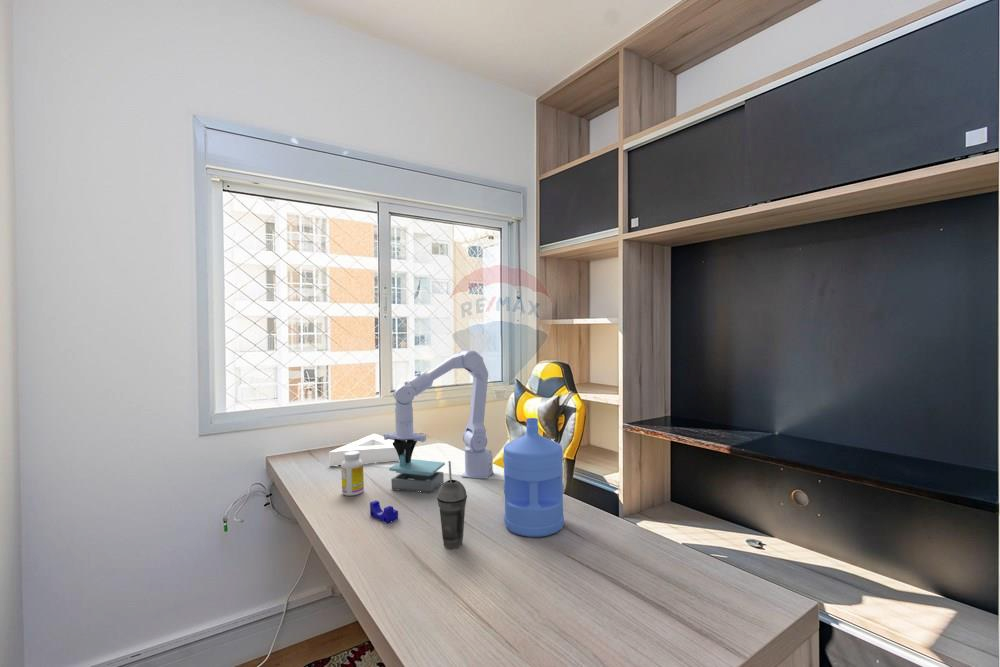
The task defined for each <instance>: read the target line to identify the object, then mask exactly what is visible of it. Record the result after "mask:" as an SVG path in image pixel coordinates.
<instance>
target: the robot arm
mask: <svg viewBox="0 0 1000 667" xmlns="http://www.w3.org/2000/svg"><path fill="white" fill-rule="evenodd" d="M454 369H464V370H466V371H467V372H468V373H469V374H470V375H471V376H472V388H471V397H470V406H469V416H468V422H467V424H466V427H465V430H464V432H463V434H462V440H463V441H462V442H463V443H464V445H465V446H464V472H463V473H462V474H461V478H472V479H486V480H487V479H488V478H489V477H490V476H491V475H492V474H493V473H494V469H493V452H492V450H489V449H486V447H487V446H488V445H487V444H488V438H487V434H486V431H487V429H486V426H485V424H484V422H485V413H486V401H487V391H488V384H489V383H488V381H489V371H488V368H487V366H486V364H485V362H484V357H482V356H481V355H480V353H479V352H477V351H475V350H468V349H463V350H460V351H458V352H457V353H454V354H452V355H451V356H450V357H448V358H446V359H444V360H443V361H442V362H441V363H439V365H437V366H436V367H434V368H433V369H430V370H429V371H428V372H426V371H422V372H416V373H415V376H413V377H412V378H410V379H409V380H405V381H403V384H400V385H397V387H395V388H394V391H393V393H392V396H393V398H394V399H395V404H394V405H395V408H394V414H395V415H394V416H395V418H394V419H395V420H394V421H395V432H385V433H383V437H384V440H394V442H393V446H394V447H395V449H396V451H397V453H398V456H399V460H400V455H401V454H403V453H406V463H409V462H410V461H411V459H412V457H413V456H412V455H413V451H414V449H415V447H416V445H417V443H418V442H420V443H424V442H426V441H427V435H426V434H422V433H416V432H414V412H413V411H414V408H413V400H414V399H415V397H417V396H418V395H420V394H422V393H423V392H425V391H426V390H428V389H430V387H432V386H433V383H434V381H435V380H437V379H438V378H440V377H441V376H444V375H445V374H446V373H448V372H450V371H451V370H454Z"/></svg>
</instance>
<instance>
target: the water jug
mask: <svg viewBox="0 0 1000 667" xmlns="http://www.w3.org/2000/svg"><path fill="white" fill-rule="evenodd" d="M525 421H526V425H525V427H526V433H525V434H524V435H522V436H519V437H518V438H516V439H513V440H511V441H509V442H508V443H506V444H505V445H504V446H503V455H502V460H503V461H502V462H503V471H504V472H503V482H504V484H503V494H504V515H503V517H504V518H503V520H504V525H505V527H506V528H507V529H508V530H509V531H510V532H512V533H513V534H515V535H517V536H522V537H529V538H542V537H549V536H551V535H555V534H556V533H558V532H559V531H560V530H561V529H562V528H563V527H564V523H565V517H564V516H565V515H564V484H563V463H564V462H563V460H564V457H563V455H564V454H563V447H562V445H561V444H560V443H558V442H556V441H555V440H552V439H549V438H547V437H545V436H543V435H541V434H540V433H539V423H538V422H539V418H536V417H529V418H526V419H525Z"/></svg>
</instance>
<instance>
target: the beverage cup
mask: <svg viewBox="0 0 1000 667" xmlns="http://www.w3.org/2000/svg"><path fill="white" fill-rule="evenodd" d="M451 463H452V462H451V460H449V461H448V476H449V477H448V478H449V479H447V480H446V481H444V483H442V484H441V485H440V486H439V487H438V491H437V497H436V499H437V504H438V507H439V516H440V524H441V534H442V542H443V547H444V546H445V547H447V548H446V549H448V548H456V549H459V548H461V547H462V546H463V540H464V530H465V511H466V510H465V509H466V503H467V498H468V494H467V491H466V488H465V486H464V484H463V483H461V481H459V480H456V479H452V466H451ZM460 546H461V547H460ZM445 547H444V548H445ZM458 547H459V548H458Z"/></svg>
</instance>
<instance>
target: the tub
mask: <svg viewBox="0 0 1000 667" xmlns="http://www.w3.org/2000/svg"><path fill="white" fill-rule="evenodd" d="M444 480H445V478H444V472H443V471H436V472H435V473H434V474H433V475H430V476H423V475H414V474H405V473H398V474H397V475H395V476H394V477H392V478H391V490H392V489H399V490H398V491H401V490H409V491H408V492H412V491H419V492H418V493H424V492H431V493H430V494H432V493H434V492H435V491H436V490H437V489H438V488H439V487H440V486H441V485H442V484H443V482H445V481H444ZM441 483H442V484H441ZM440 484H441V485H440ZM439 485H440V486H439ZM438 486H439V487H438ZM437 487H438V488H437ZM436 488H437V489H436ZM435 489H436V490H435ZM434 490H435V491H434ZM420 491H421V492H420Z"/></svg>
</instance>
